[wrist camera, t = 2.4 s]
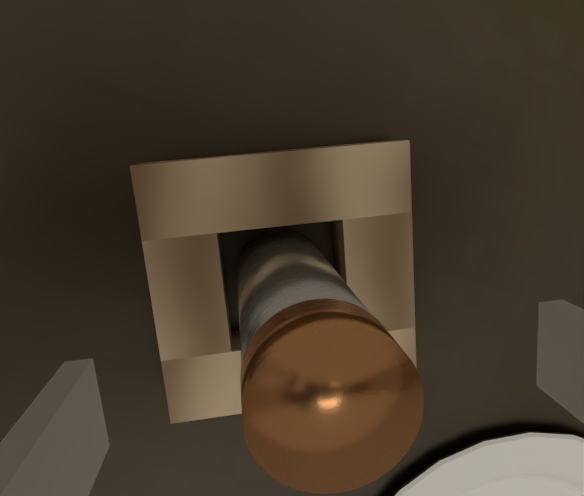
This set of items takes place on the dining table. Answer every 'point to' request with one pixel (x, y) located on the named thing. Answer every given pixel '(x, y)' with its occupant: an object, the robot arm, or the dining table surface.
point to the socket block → (263, 214)
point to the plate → (506, 468)
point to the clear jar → (318, 372)
